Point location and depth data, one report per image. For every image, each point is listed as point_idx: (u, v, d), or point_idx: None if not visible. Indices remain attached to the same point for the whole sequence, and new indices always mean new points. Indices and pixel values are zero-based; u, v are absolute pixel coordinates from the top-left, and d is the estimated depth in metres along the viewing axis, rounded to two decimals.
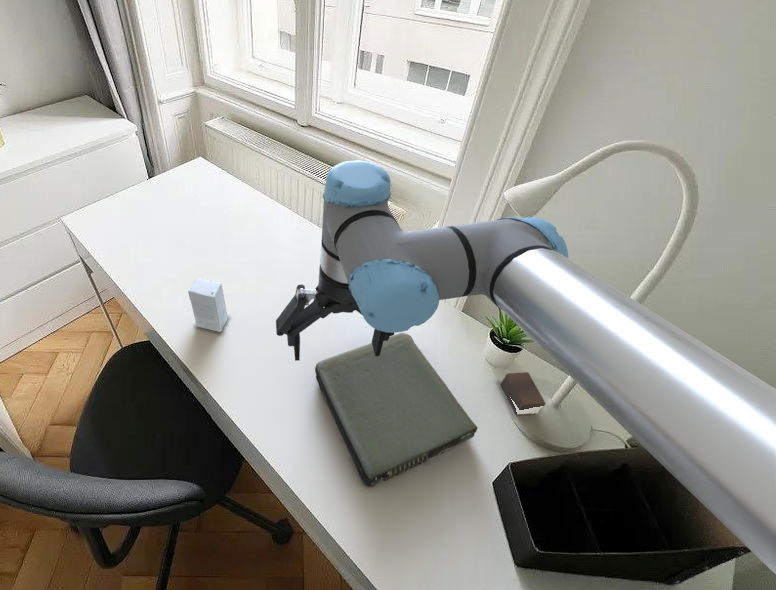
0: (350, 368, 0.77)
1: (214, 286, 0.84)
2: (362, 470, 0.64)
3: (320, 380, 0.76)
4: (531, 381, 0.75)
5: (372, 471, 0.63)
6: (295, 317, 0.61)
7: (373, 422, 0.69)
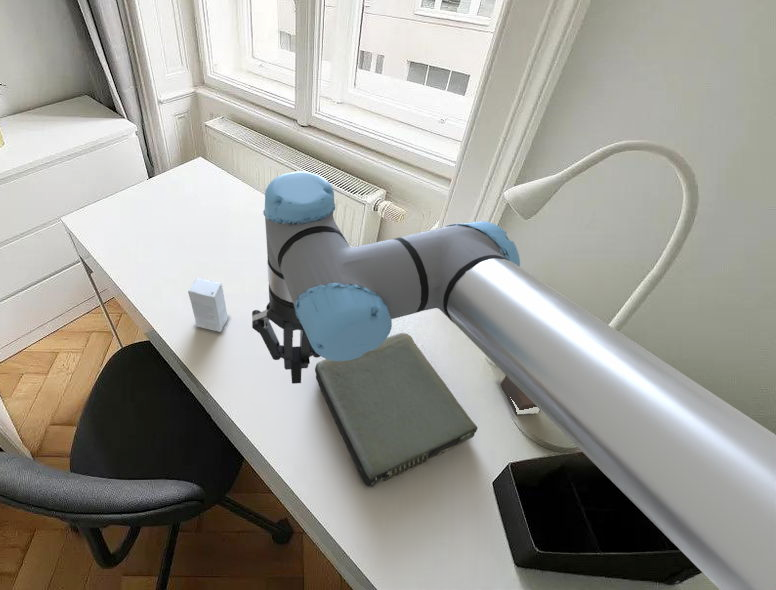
0: (350, 368, 0.77)
1: (214, 286, 0.84)
2: (362, 470, 0.64)
3: (320, 380, 0.76)
4: None
5: (372, 471, 0.63)
6: (270, 341, 0.59)
7: (373, 422, 0.69)
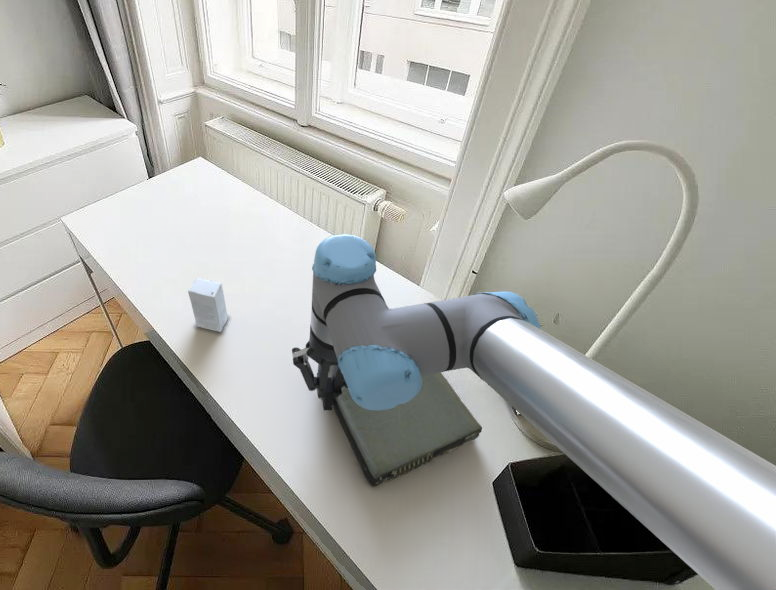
0: None
1: (214, 286, 0.84)
2: (367, 470, 0.64)
3: None
4: None
5: (376, 471, 0.63)
6: (308, 375, 0.65)
7: (377, 422, 0.69)
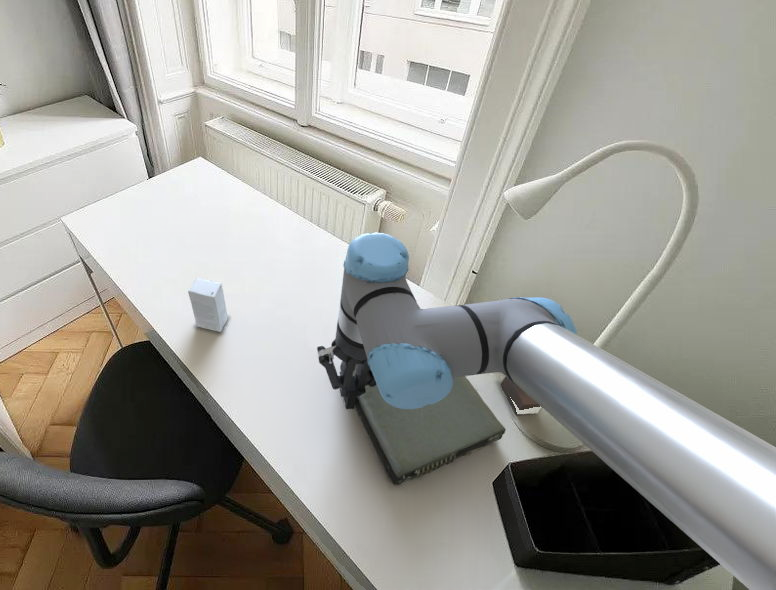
0: None
1: (214, 286, 0.84)
2: (389, 468, 0.64)
3: None
4: None
5: (400, 469, 0.63)
6: (333, 373, 0.65)
7: (400, 421, 0.69)
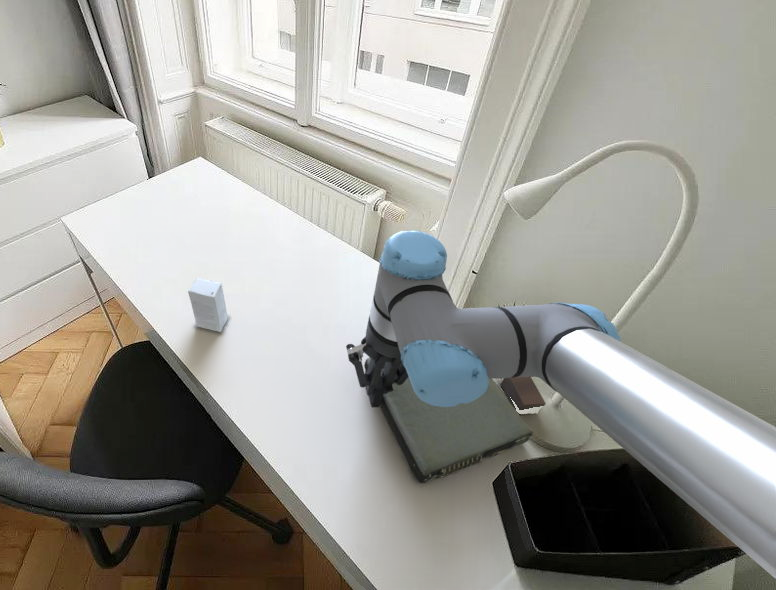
0: None
1: (214, 286, 0.84)
2: (415, 466, 0.65)
3: None
4: (531, 381, 0.75)
5: (426, 468, 0.64)
6: (362, 371, 0.65)
7: (425, 420, 0.69)
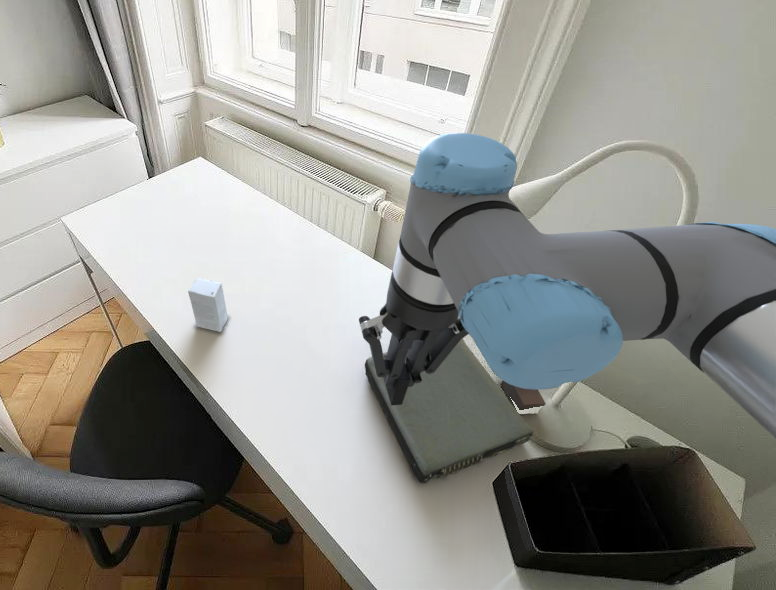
0: None
1: (214, 286, 0.84)
2: (416, 466, 0.65)
3: (371, 375, 0.76)
4: None
5: (426, 468, 0.64)
6: (380, 354, 0.48)
7: (426, 420, 0.69)
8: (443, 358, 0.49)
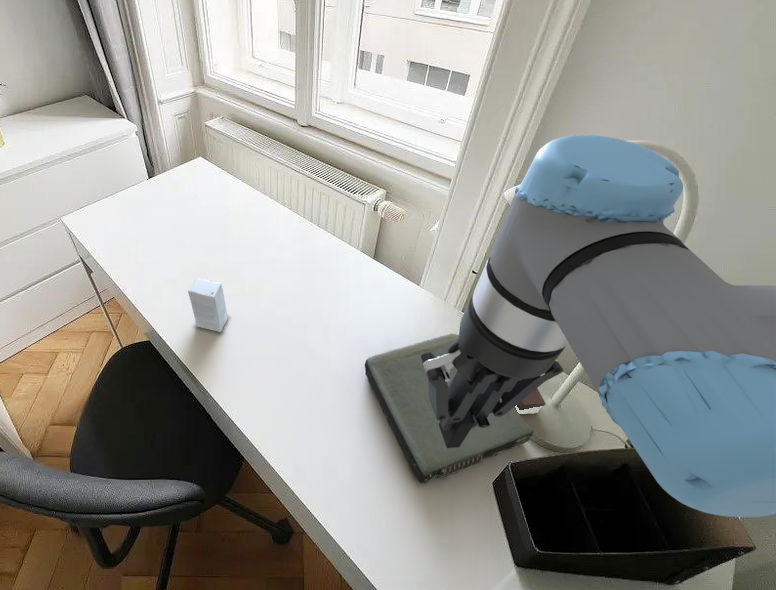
0: (401, 365, 0.77)
1: (214, 286, 0.84)
2: (416, 466, 0.65)
3: (371, 375, 0.76)
4: None
5: (426, 468, 0.64)
6: (445, 397, 0.40)
7: (426, 420, 0.69)
8: (518, 401, 0.41)
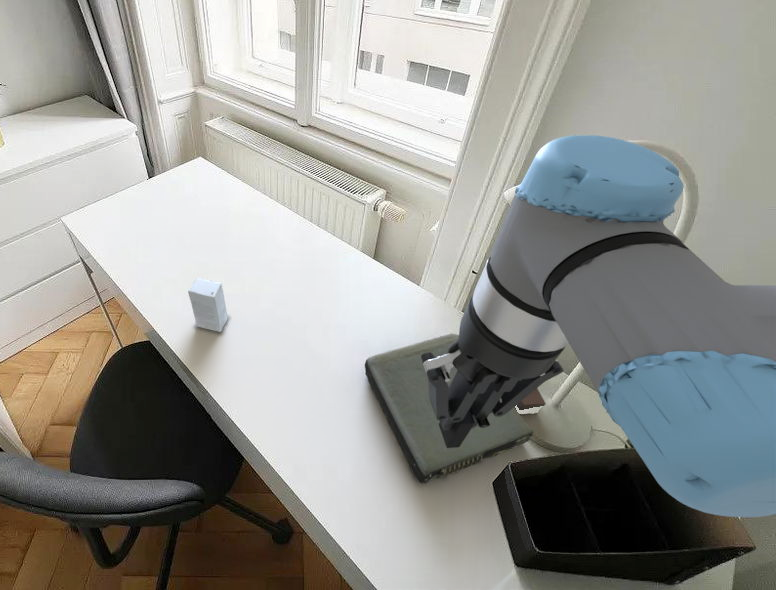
0: (401, 365, 0.77)
1: (214, 286, 0.84)
2: (416, 466, 0.65)
3: (371, 375, 0.76)
4: None
5: (426, 468, 0.64)
6: (445, 397, 0.40)
7: (426, 420, 0.69)
8: (518, 401, 0.41)
